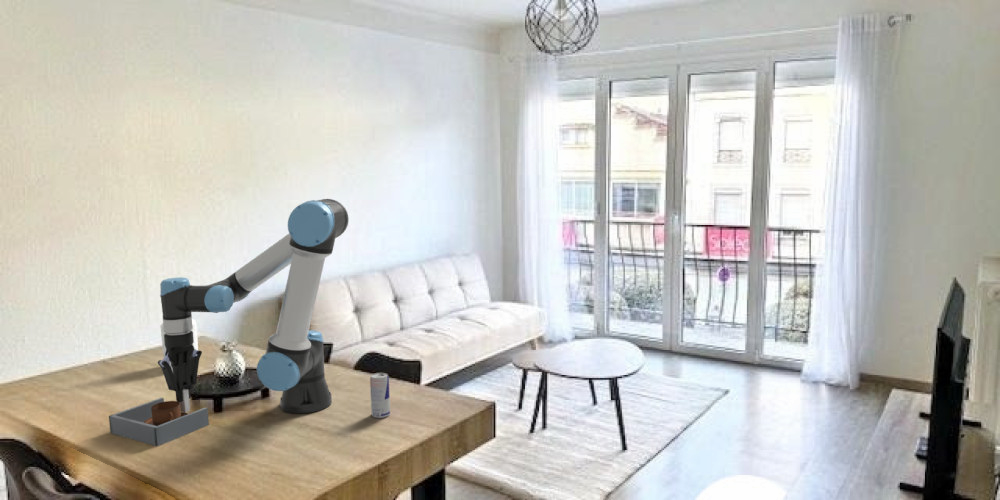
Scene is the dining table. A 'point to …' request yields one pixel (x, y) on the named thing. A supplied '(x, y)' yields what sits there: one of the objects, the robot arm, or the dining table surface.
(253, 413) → the dining table surface
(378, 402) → the energy drink
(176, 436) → the box
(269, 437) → the dining table surface
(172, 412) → the cup and saucer
